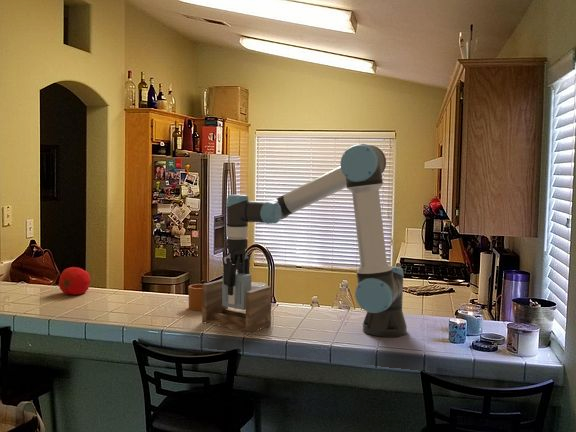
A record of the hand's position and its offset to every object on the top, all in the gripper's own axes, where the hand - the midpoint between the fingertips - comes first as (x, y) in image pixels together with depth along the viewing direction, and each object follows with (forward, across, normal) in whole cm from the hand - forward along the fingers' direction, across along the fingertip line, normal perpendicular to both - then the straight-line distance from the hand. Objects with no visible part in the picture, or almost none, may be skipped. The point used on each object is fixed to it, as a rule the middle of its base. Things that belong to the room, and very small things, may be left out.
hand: (236, 302), depth 211 cm
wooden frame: (+8, 0, 0) cm, 8 cm away
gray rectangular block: (+2, 0, 0) cm, 2 cm away
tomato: (+8, +6, -85) cm, 86 cm away
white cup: (+8, -21, -7) cm, 24 cm away
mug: (+8, -9, -24) cm, 27 cm away
